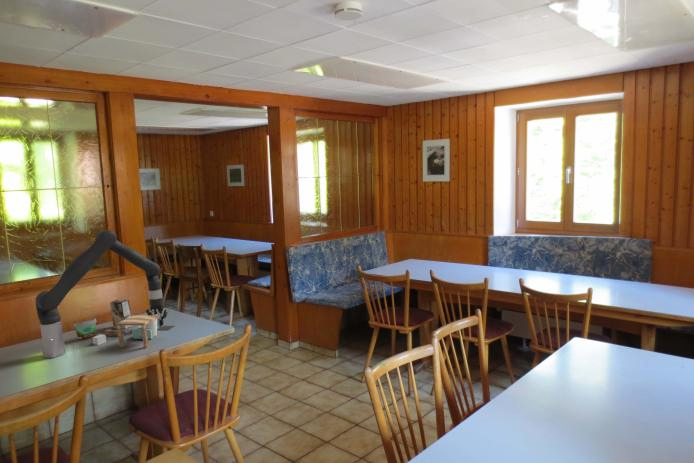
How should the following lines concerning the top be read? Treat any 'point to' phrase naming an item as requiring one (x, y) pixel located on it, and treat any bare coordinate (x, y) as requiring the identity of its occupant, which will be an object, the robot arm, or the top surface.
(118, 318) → the coffee box
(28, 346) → the top surface
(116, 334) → the walnut stick
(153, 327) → the dixie cup
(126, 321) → the light wood legged piece
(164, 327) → the dark grey flat slab
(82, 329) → the food container
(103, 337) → the grey block
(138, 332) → the crook
